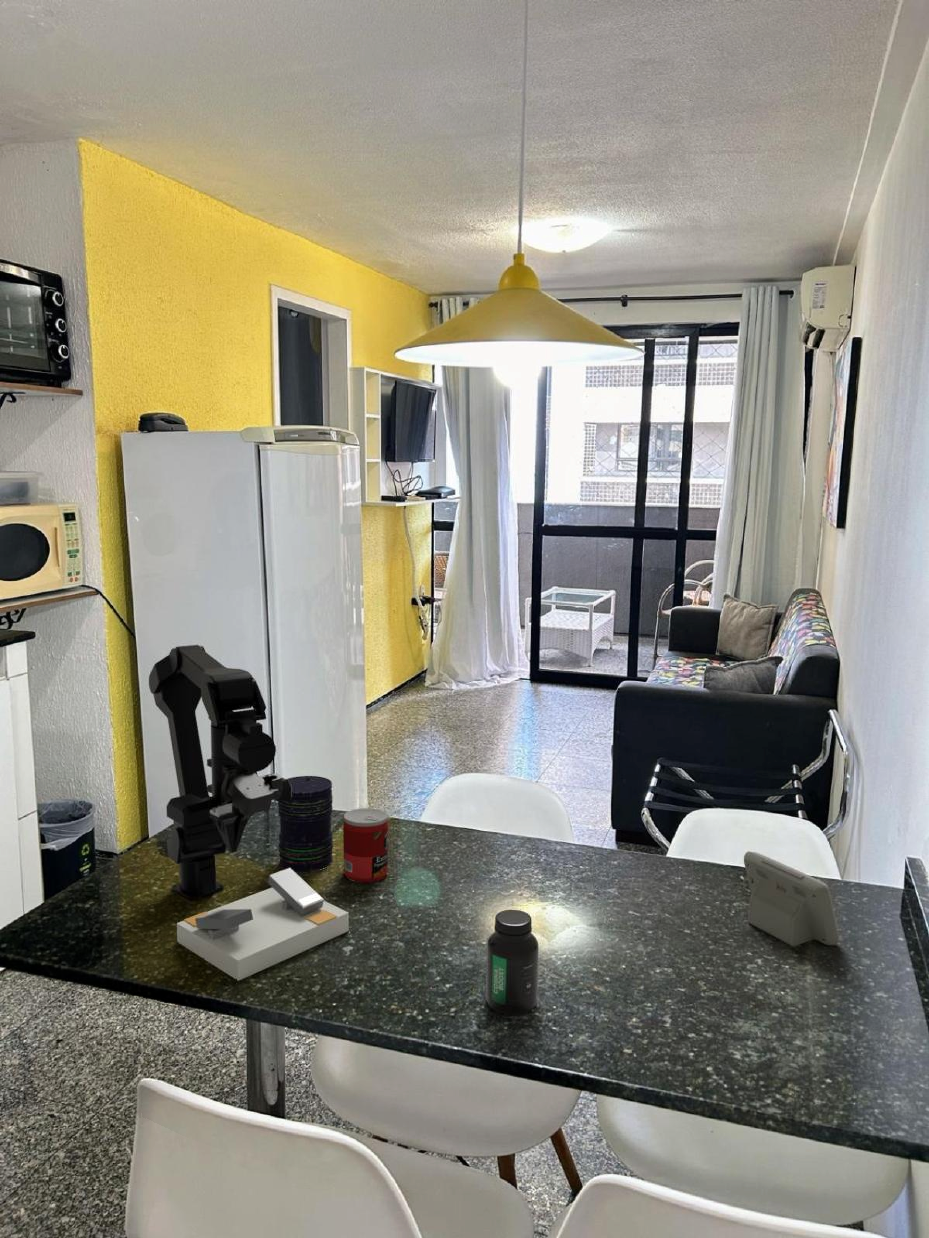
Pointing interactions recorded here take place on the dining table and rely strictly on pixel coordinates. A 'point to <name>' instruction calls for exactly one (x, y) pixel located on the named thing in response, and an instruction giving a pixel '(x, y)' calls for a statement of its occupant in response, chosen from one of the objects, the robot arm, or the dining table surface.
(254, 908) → the switch base
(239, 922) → the block
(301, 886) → the rocker
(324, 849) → the storage jar
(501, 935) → the supplement bottle
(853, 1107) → the dining table surface
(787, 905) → the digital clock
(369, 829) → the canned food
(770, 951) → the dining table surface
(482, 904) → the dining table surface
